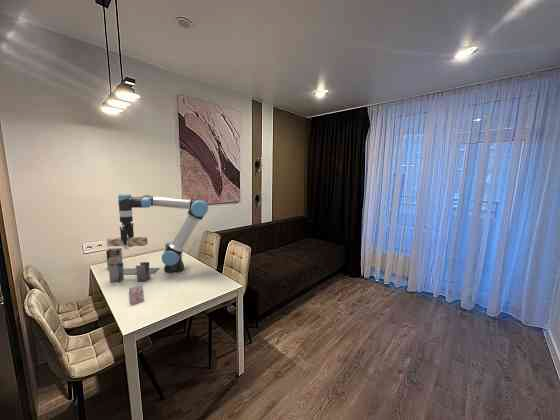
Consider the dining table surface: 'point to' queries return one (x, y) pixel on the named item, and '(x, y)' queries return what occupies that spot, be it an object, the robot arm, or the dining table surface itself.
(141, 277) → the post
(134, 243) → the rail
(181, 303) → the dining table surface
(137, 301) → the pink rectangular block
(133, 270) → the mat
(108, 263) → the coffee box
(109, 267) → the post
